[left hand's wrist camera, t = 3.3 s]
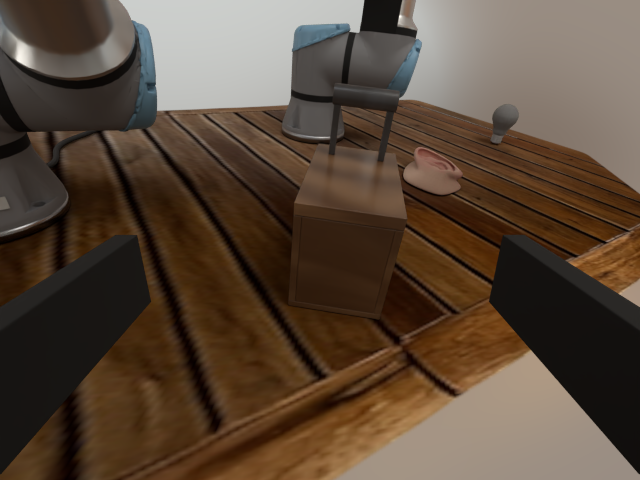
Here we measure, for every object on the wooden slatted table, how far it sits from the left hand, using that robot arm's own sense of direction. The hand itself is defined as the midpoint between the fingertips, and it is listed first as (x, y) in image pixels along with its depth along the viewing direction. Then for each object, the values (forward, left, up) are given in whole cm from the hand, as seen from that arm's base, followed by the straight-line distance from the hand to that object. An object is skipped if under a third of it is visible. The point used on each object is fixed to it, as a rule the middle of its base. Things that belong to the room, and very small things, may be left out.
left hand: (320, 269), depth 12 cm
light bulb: (-37, +87, -17) cm, 96 cm away
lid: (-16, +16, -7) cm, 24 cm away
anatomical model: (-28, +49, -18) cm, 59 cm away
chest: (-16, +16, -17) cm, 29 cm away
